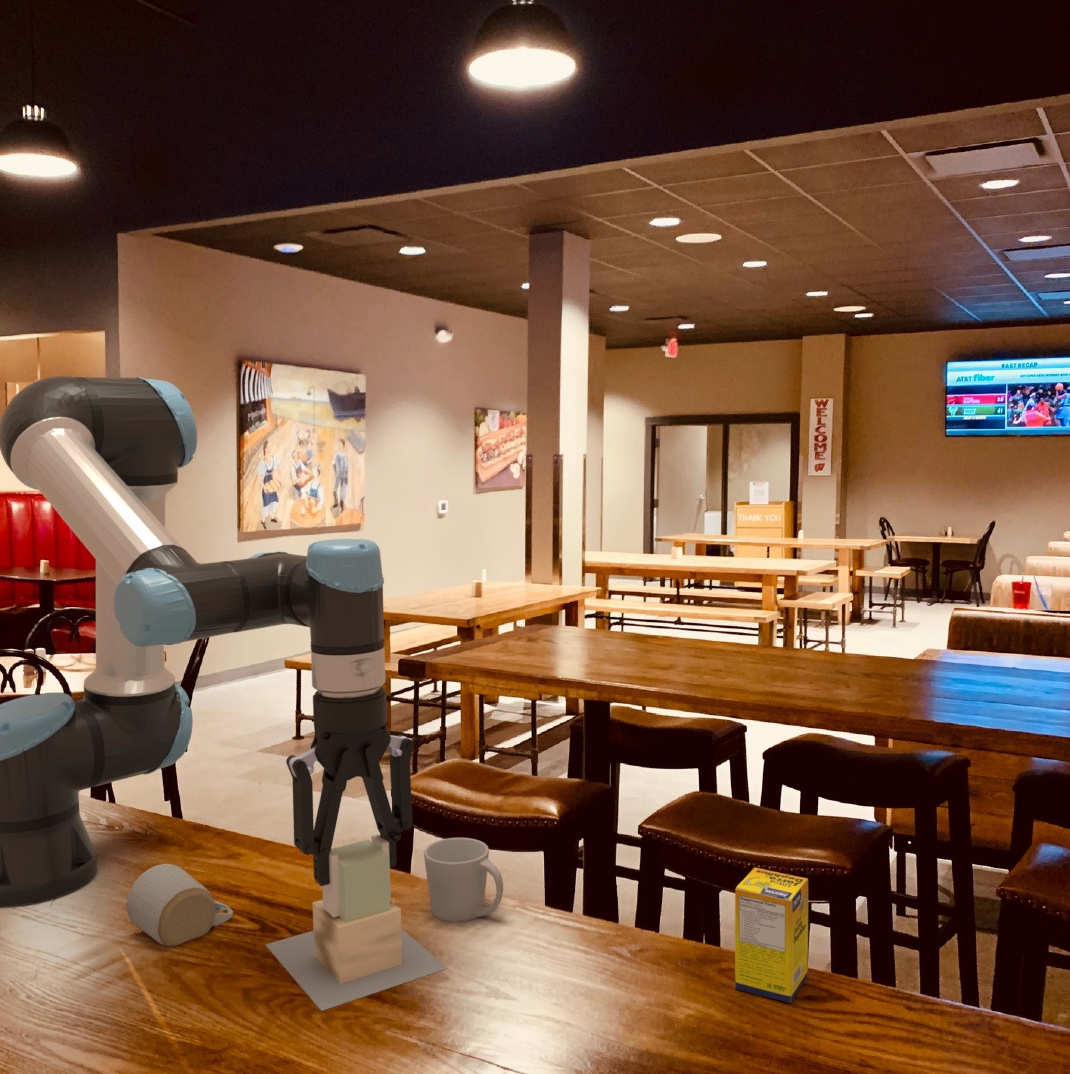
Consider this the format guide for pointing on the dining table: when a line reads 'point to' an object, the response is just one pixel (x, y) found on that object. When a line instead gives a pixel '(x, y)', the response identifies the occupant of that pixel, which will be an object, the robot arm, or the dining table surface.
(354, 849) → the sage block
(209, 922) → the ceramic mug
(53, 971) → the dining table surface
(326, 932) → the base block
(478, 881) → the cup
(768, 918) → the supplement box
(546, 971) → the dining table surface
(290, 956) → the board
